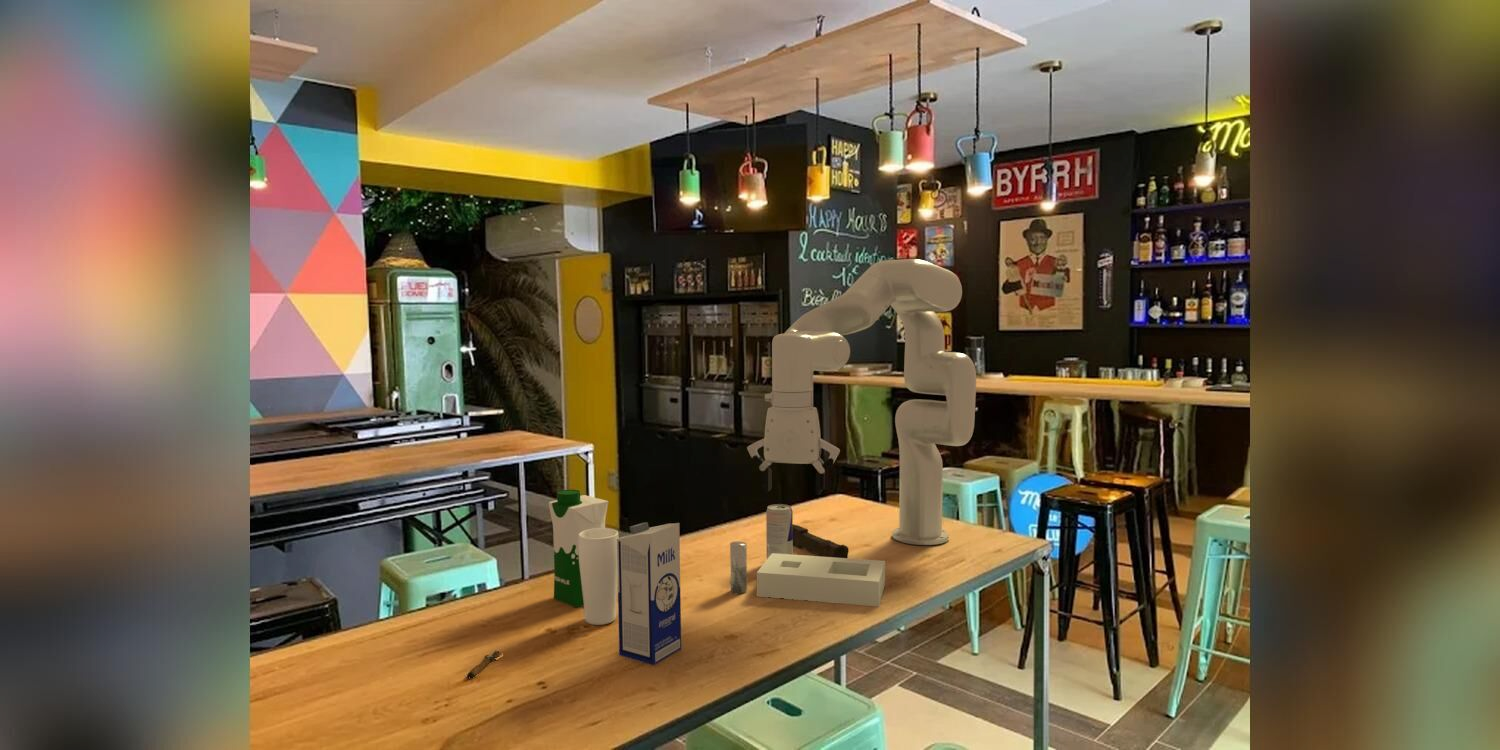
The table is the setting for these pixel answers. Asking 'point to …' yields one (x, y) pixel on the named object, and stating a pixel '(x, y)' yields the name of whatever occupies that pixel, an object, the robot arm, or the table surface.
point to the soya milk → (572, 540)
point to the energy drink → (779, 529)
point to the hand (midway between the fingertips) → (793, 492)
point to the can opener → (482, 665)
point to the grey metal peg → (738, 567)
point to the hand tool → (817, 544)
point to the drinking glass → (598, 574)
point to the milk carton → (649, 592)
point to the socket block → (822, 579)
